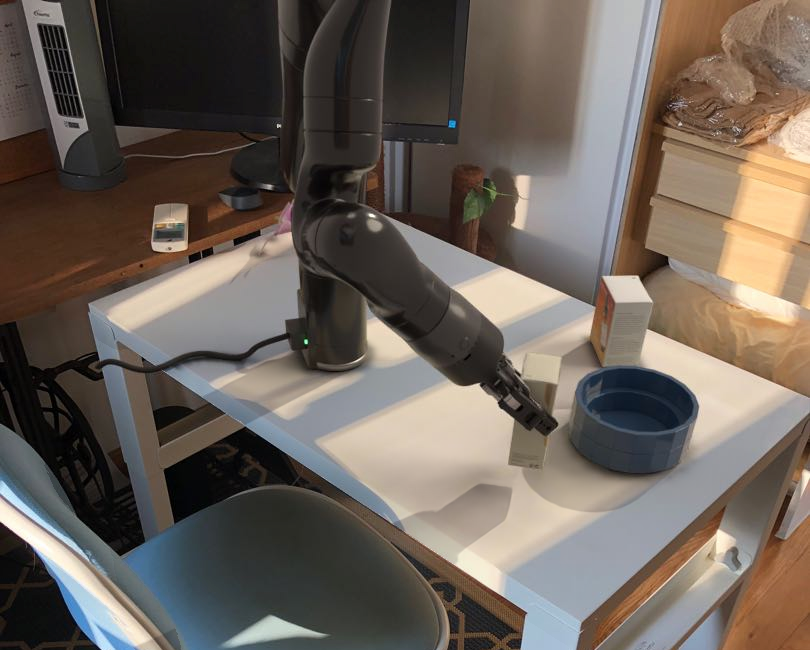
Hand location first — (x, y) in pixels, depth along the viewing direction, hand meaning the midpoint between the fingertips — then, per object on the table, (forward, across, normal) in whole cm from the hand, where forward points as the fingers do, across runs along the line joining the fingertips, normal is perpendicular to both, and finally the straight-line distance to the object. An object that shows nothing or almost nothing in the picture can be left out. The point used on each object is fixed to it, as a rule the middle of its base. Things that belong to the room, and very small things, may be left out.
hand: (538, 409), depth 107 cm
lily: (-4, -70, -20) cm, 73 cm away
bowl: (+18, -4, +4) cm, 19 cm away
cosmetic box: (+4, 0, -5) cm, 7 cm away
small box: (+24, -24, +9) cm, 35 cm away
